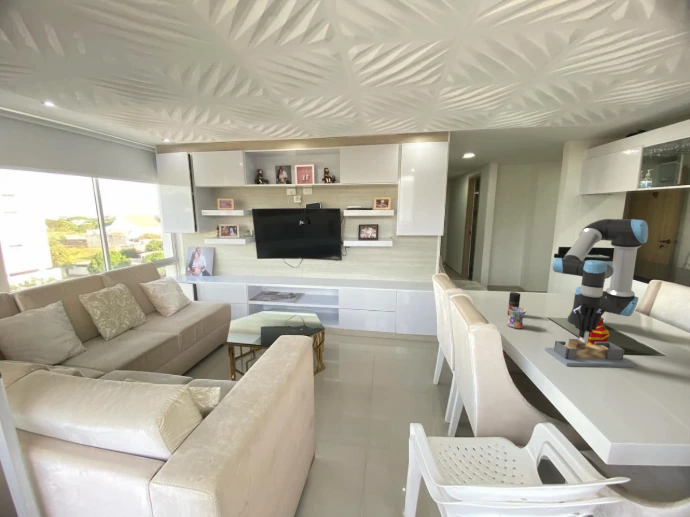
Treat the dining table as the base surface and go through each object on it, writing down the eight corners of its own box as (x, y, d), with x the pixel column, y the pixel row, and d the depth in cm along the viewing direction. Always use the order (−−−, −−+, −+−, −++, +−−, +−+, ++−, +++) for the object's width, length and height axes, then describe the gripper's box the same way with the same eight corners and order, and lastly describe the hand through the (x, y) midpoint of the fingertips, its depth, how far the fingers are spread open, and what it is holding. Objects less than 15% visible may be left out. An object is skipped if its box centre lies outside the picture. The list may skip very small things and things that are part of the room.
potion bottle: (602, 352, 135) (607, 323, 133) (576, 343, 144) (581, 316, 142) (611, 347, 140) (616, 319, 137) (586, 339, 149) (590, 312, 146)
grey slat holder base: (604, 351, 136) (606, 338, 135) (633, 367, 122) (635, 353, 121) (544, 350, 137) (546, 338, 136) (566, 365, 123) (568, 352, 122)
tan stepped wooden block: (601, 353, 131) (603, 339, 130) (609, 358, 127) (612, 343, 126) (562, 352, 132) (564, 338, 131) (570, 357, 127) (572, 343, 126)
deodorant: (505, 313, 186) (507, 292, 183) (513, 313, 186) (516, 292, 184) (511, 317, 180) (513, 294, 177) (520, 316, 180) (522, 294, 178)
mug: (522, 331, 159) (524, 313, 157) (504, 326, 165) (506, 309, 163) (526, 324, 168) (528, 308, 166) (509, 320, 174) (510, 304, 172)
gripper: (598, 292, 128) (590, 340, 132) (569, 292, 128) (562, 339, 132) (613, 297, 121) (604, 347, 125) (583, 297, 121) (575, 347, 125)
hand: (582, 343), depth 128 cm, fingers closed
